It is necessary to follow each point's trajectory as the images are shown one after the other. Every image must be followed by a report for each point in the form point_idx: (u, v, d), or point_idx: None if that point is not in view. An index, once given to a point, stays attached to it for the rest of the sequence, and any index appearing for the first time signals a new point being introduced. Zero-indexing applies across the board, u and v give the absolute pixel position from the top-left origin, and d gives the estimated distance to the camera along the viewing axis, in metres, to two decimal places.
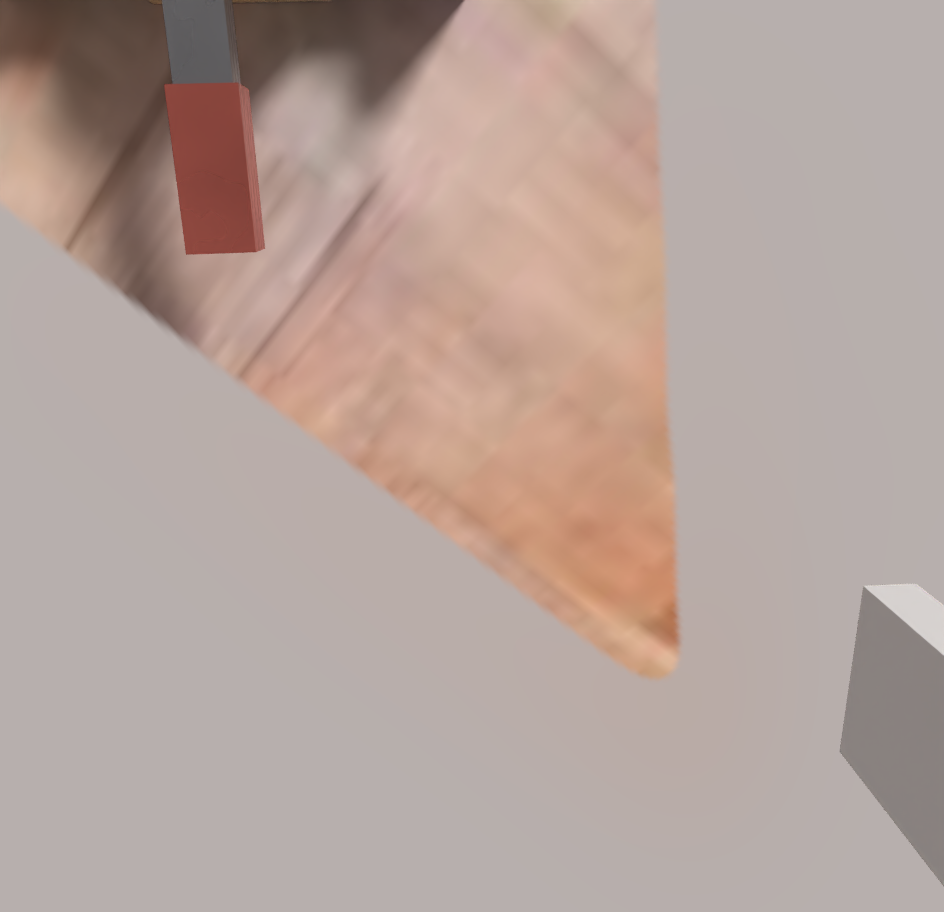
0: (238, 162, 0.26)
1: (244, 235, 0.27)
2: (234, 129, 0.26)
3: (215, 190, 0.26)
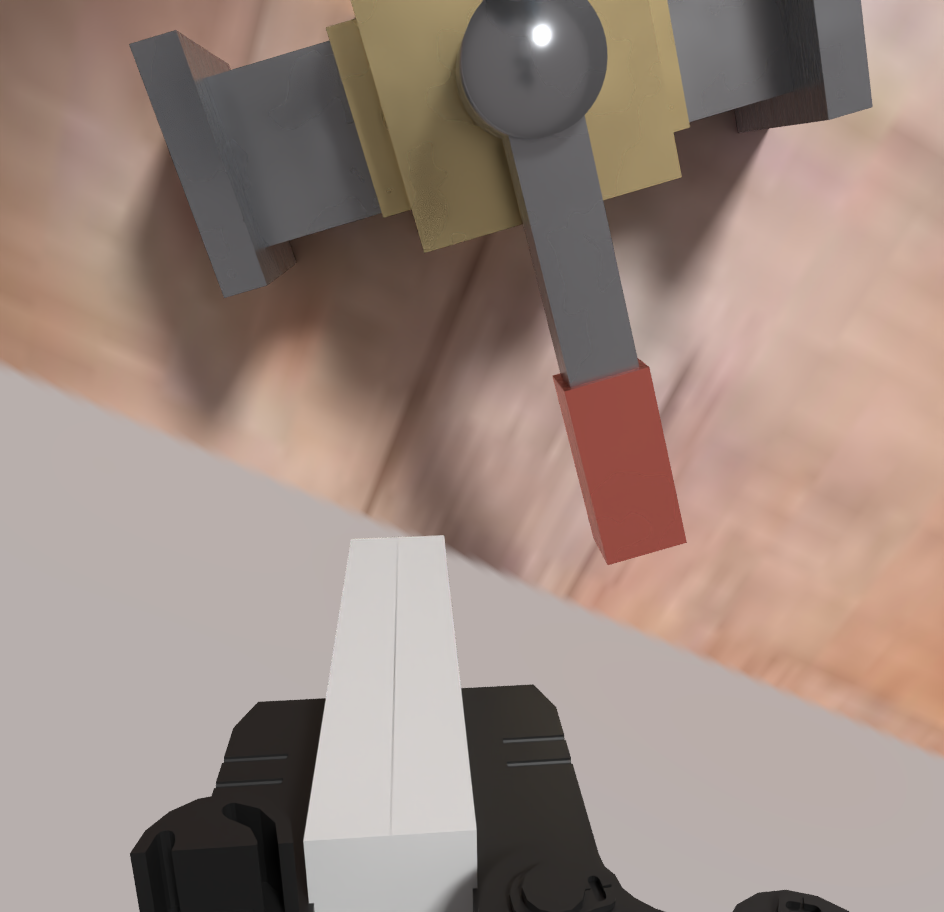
0: (657, 452, 0.22)
1: (671, 528, 0.22)
2: (650, 419, 0.21)
3: (634, 489, 0.22)
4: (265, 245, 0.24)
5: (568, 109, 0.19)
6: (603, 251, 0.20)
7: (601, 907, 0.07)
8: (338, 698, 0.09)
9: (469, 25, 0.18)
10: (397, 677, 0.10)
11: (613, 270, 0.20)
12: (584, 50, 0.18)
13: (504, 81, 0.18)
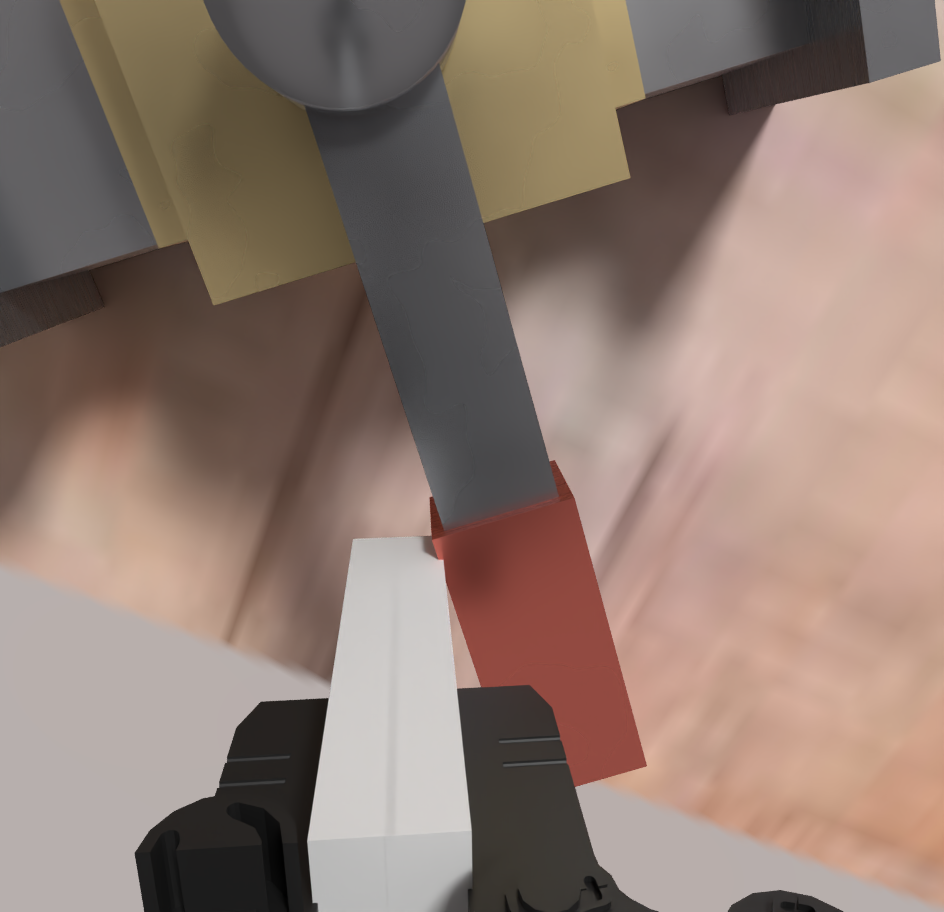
0: (594, 632, 0.13)
1: (622, 746, 0.14)
2: (579, 580, 0.13)
3: (557, 689, 0.13)
4: None
5: (402, 55, 0.10)
6: (487, 307, 0.12)
7: (597, 907, 0.07)
8: (341, 698, 0.09)
9: None
10: (393, 677, 0.10)
11: (507, 338, 0.12)
12: None
13: (278, 4, 0.10)
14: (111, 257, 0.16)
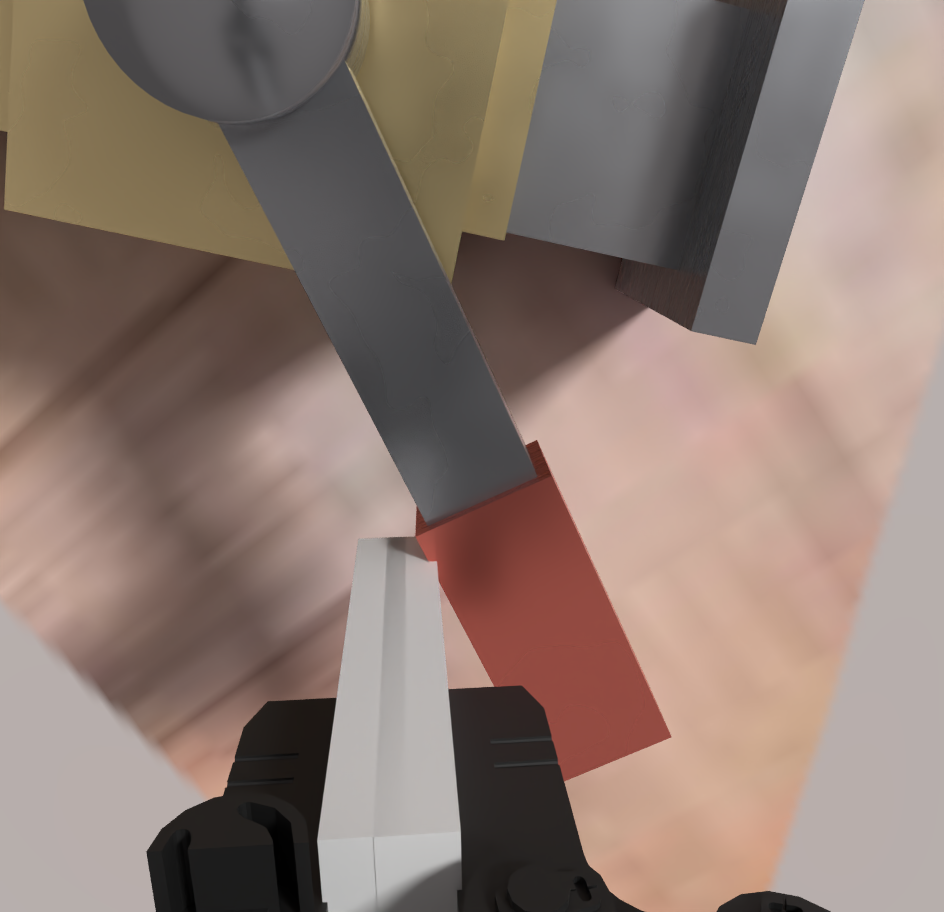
0: (595, 609, 0.13)
1: (642, 719, 0.14)
2: (571, 558, 0.13)
3: (567, 670, 0.13)
4: None
5: (302, 57, 0.10)
6: (433, 296, 0.11)
7: (586, 908, 0.07)
8: (349, 697, 0.09)
9: None
10: (384, 678, 0.10)
11: (458, 325, 0.12)
12: None
13: (171, 27, 0.10)
14: None
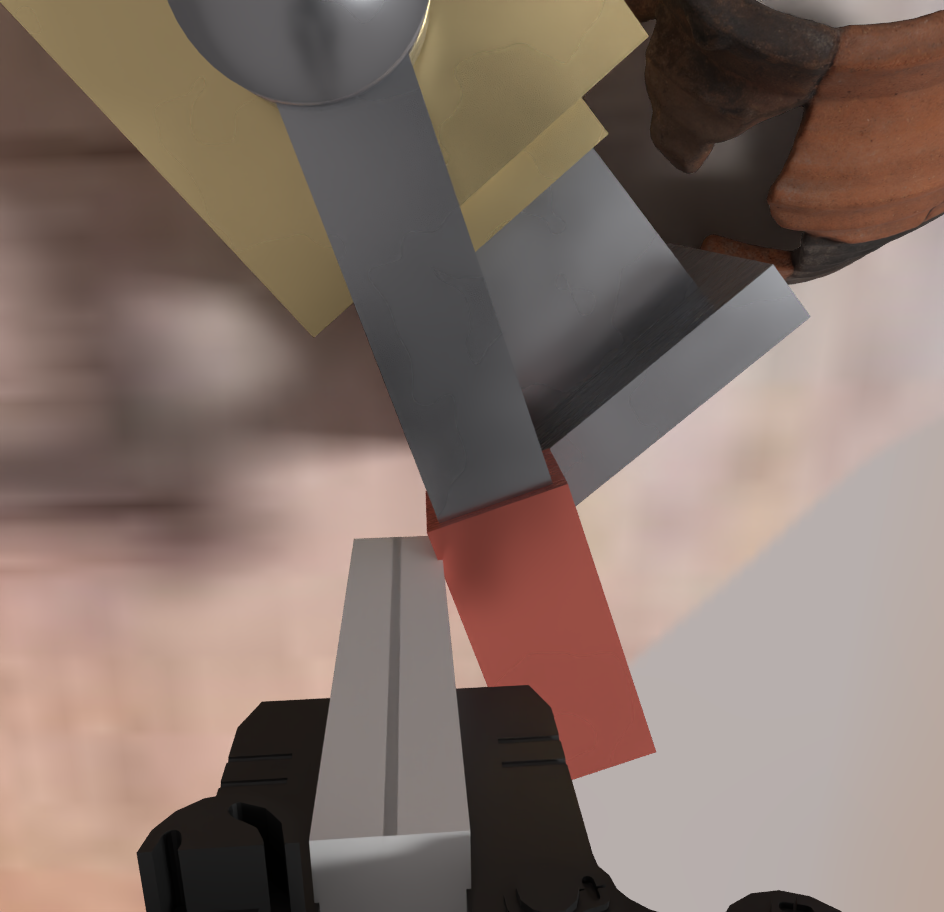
0: (595, 619, 0.13)
1: (630, 732, 0.14)
2: (578, 567, 0.13)
3: (561, 677, 0.13)
4: None
5: (370, 46, 0.10)
6: (470, 295, 0.12)
7: (595, 907, 0.07)
8: (343, 698, 0.09)
9: None
10: (391, 677, 0.10)
11: (491, 326, 0.12)
12: None
13: (243, 2, 0.10)
14: None
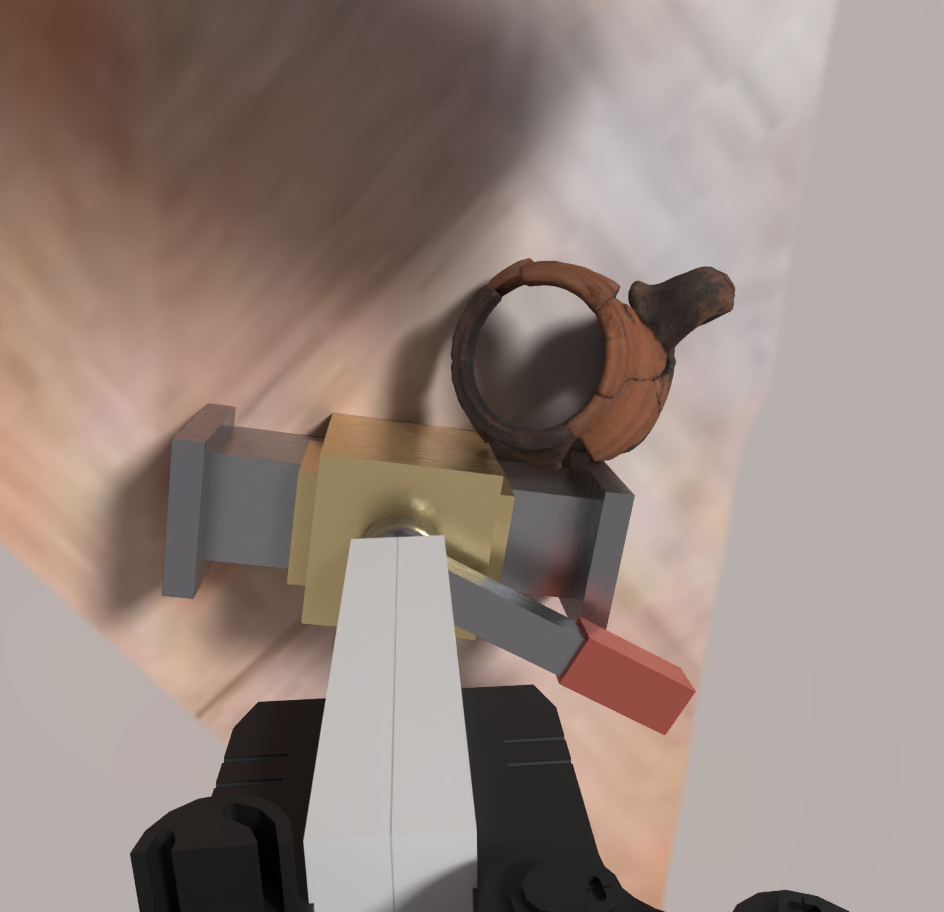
0: (635, 667, 0.32)
1: (680, 692, 0.33)
2: (615, 658, 0.32)
3: (640, 692, 0.33)
4: (204, 559, 0.34)
5: None
6: (514, 611, 0.31)
7: (600, 908, 0.07)
8: (338, 698, 0.09)
9: None
10: (397, 677, 0.10)
11: (528, 613, 0.31)
12: None
13: None
14: (259, 564, 0.35)
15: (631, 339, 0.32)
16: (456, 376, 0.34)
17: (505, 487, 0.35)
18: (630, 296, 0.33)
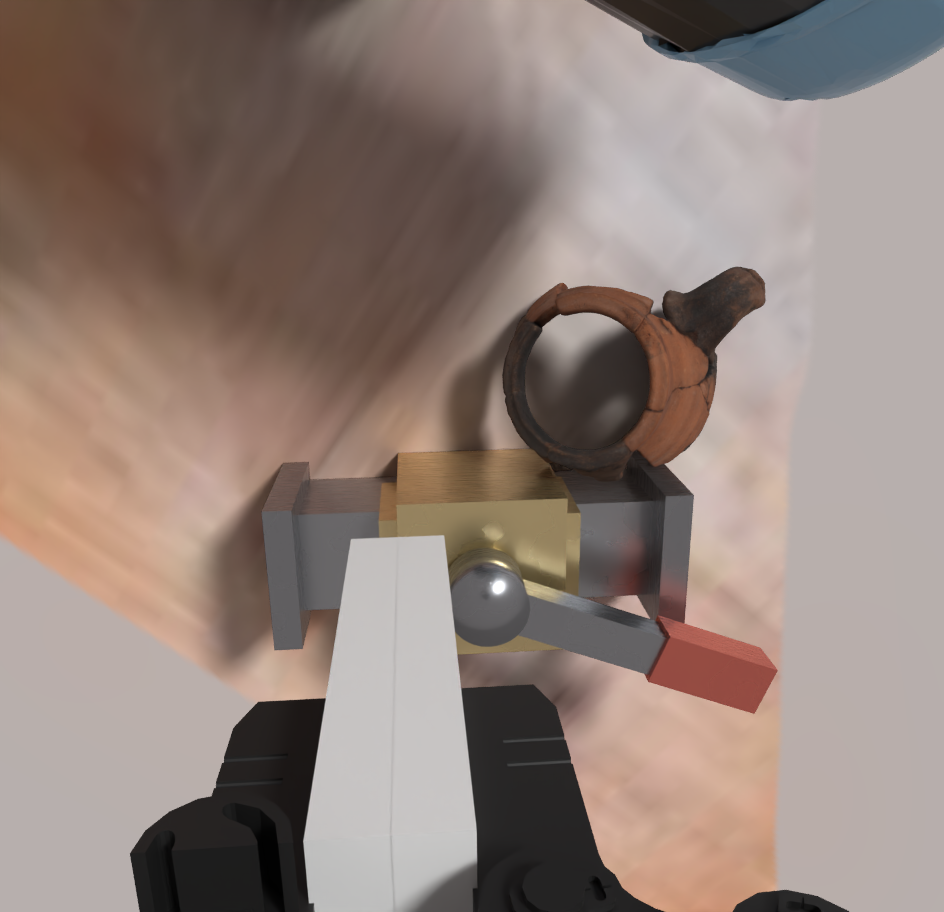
0: (717, 657, 0.34)
1: (763, 673, 0.35)
2: (697, 651, 0.34)
3: (726, 678, 0.35)
4: (305, 609, 0.38)
5: (521, 608, 0.33)
6: (597, 622, 0.34)
7: (601, 907, 0.07)
8: (338, 698, 0.09)
9: None
10: (397, 677, 0.10)
11: (609, 622, 0.34)
12: (502, 587, 0.32)
13: (488, 629, 0.33)
14: None
15: (671, 351, 0.34)
16: (511, 409, 0.36)
17: (570, 503, 0.37)
18: (664, 309, 0.34)
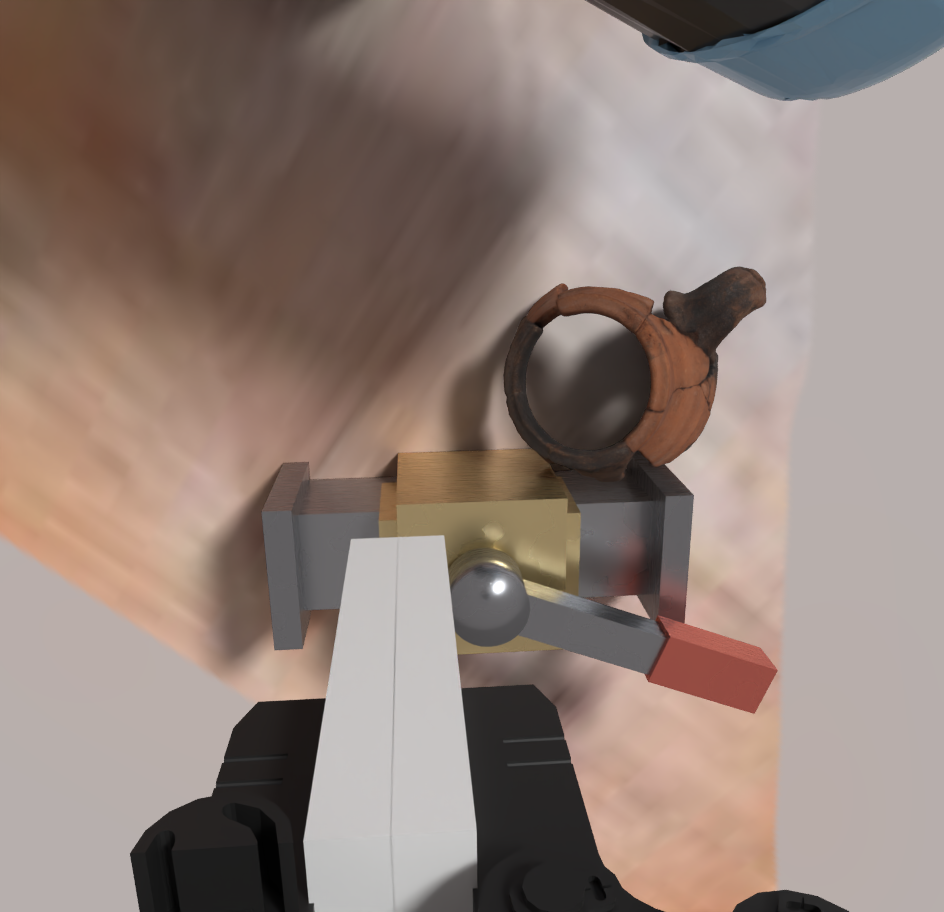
0: (717, 657, 0.34)
1: (763, 673, 0.35)
2: (697, 651, 0.34)
3: (726, 678, 0.35)
4: (306, 609, 0.38)
5: (521, 608, 0.33)
6: (597, 622, 0.34)
7: (601, 907, 0.07)
8: (338, 698, 0.09)
9: None
10: (397, 677, 0.10)
11: (609, 622, 0.34)
12: (502, 587, 0.32)
13: (488, 628, 0.33)
14: None
15: (672, 351, 0.34)
16: (512, 410, 0.36)
17: (570, 503, 0.37)
18: (665, 309, 0.34)
